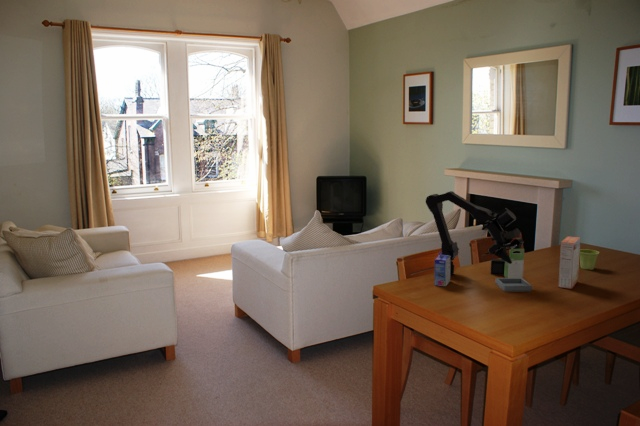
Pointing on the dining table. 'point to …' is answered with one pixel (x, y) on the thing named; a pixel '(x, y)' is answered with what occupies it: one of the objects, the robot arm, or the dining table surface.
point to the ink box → (514, 264)
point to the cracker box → (569, 262)
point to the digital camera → (497, 266)
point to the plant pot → (588, 258)
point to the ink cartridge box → (442, 270)
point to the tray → (513, 285)
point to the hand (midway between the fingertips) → (516, 262)
